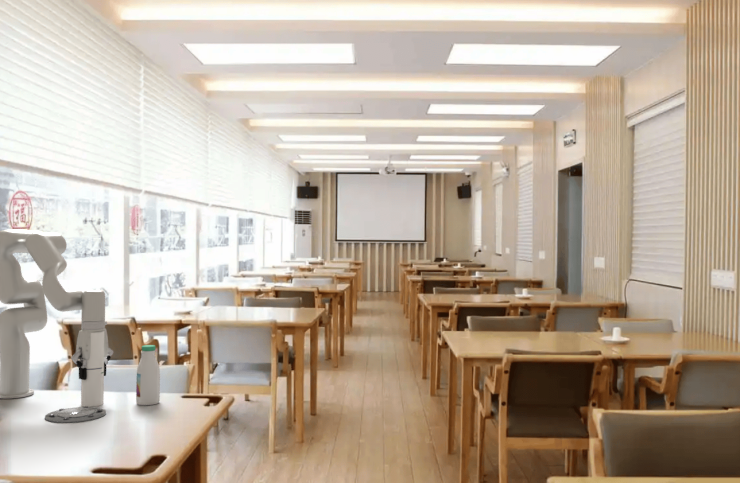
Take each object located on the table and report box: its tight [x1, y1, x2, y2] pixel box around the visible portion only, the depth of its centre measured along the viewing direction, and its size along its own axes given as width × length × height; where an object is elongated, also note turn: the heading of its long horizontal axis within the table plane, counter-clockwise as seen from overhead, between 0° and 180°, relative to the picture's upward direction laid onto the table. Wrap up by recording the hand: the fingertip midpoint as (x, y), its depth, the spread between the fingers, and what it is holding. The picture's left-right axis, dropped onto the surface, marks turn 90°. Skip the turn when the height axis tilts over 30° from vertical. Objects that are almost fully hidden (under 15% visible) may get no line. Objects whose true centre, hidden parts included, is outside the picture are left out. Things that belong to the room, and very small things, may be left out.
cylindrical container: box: [80, 331, 105, 407], centre depth 233 cm, size 7×7×25 cm
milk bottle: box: [135, 344, 161, 406], centre depth 235 cm, size 8×8×20 cm
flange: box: [44, 406, 107, 424], centre depth 217 cm, size 18×18×1 cm
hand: (92, 377), depth 233 cm, fingers closed on cylindrical container, 7 cm apart
